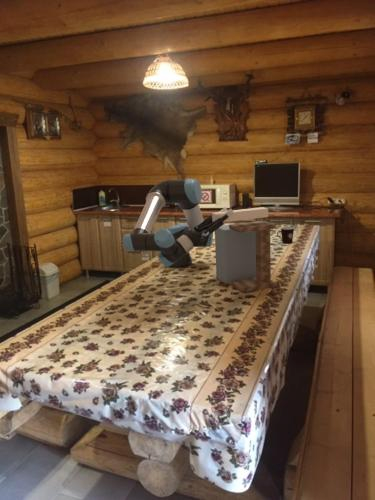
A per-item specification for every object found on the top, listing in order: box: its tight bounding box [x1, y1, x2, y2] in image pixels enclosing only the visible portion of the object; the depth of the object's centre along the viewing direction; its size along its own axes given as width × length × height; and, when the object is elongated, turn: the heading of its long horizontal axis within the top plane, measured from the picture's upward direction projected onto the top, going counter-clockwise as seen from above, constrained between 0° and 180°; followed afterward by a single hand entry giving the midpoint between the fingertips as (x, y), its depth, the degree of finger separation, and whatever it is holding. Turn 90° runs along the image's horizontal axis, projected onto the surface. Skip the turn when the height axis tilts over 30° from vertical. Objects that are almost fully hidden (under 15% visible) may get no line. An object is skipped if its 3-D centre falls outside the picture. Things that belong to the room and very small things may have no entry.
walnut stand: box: [228, 220, 277, 293], centre depth 199 cm, size 18×12×30 cm, turn 110°
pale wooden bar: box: [211, 206, 269, 223], centre depth 192 cm, size 26×5×4 cm, turn 110°
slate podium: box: [214, 224, 256, 285], centre depth 212 cm, size 17×12×27 cm
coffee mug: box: [276, 226, 295, 245], centre depth 286 cm, size 12×9×10 cm
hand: (229, 210), depth 189 cm, fingers closed on pale wooden bar, 5 cm apart
